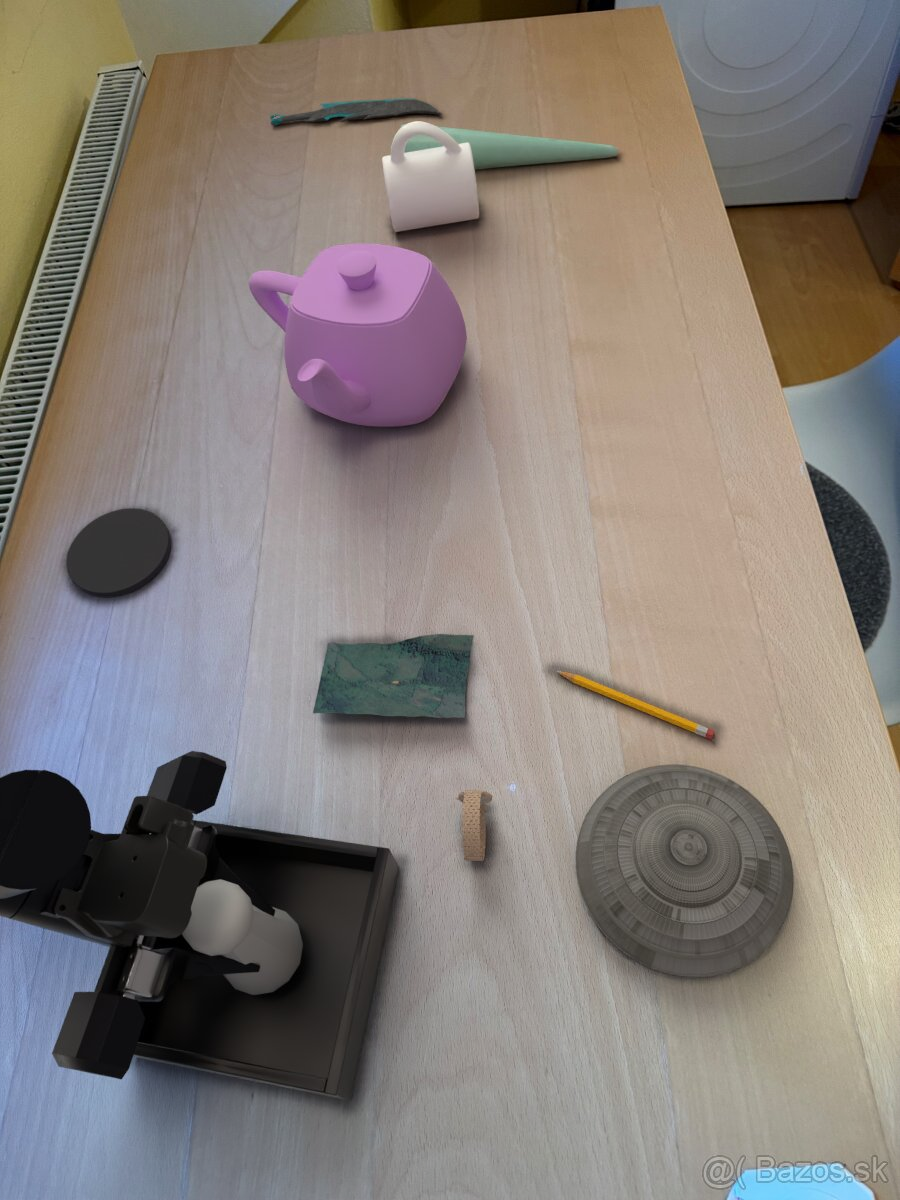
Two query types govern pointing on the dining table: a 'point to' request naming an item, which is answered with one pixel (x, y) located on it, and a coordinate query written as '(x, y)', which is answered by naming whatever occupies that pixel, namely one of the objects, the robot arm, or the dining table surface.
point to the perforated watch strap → (474, 823)
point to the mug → (429, 180)
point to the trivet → (118, 552)
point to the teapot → (367, 333)
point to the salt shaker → (244, 936)
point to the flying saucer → (684, 870)
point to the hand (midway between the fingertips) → (264, 941)
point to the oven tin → (316, 989)
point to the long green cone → (514, 148)
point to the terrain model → (397, 677)
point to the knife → (361, 110)
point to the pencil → (639, 705)
